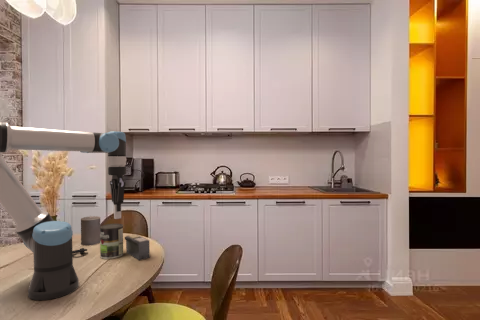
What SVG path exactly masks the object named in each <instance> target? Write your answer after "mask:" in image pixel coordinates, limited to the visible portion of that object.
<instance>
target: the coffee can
mask: <svg viewBox="0 0 480 320" xmlns="http://www.w3.org/2000/svg"><path fill="white" fill-rule="evenodd" d="M99 246H100V247H99V252H100V253H99V254H100V255H99V257H100V259H104V260H109V259H110V260H111V259H118V258H120V257H122V256H124V224H122V223H107V224H103V225H100V243H99Z"/></svg>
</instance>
